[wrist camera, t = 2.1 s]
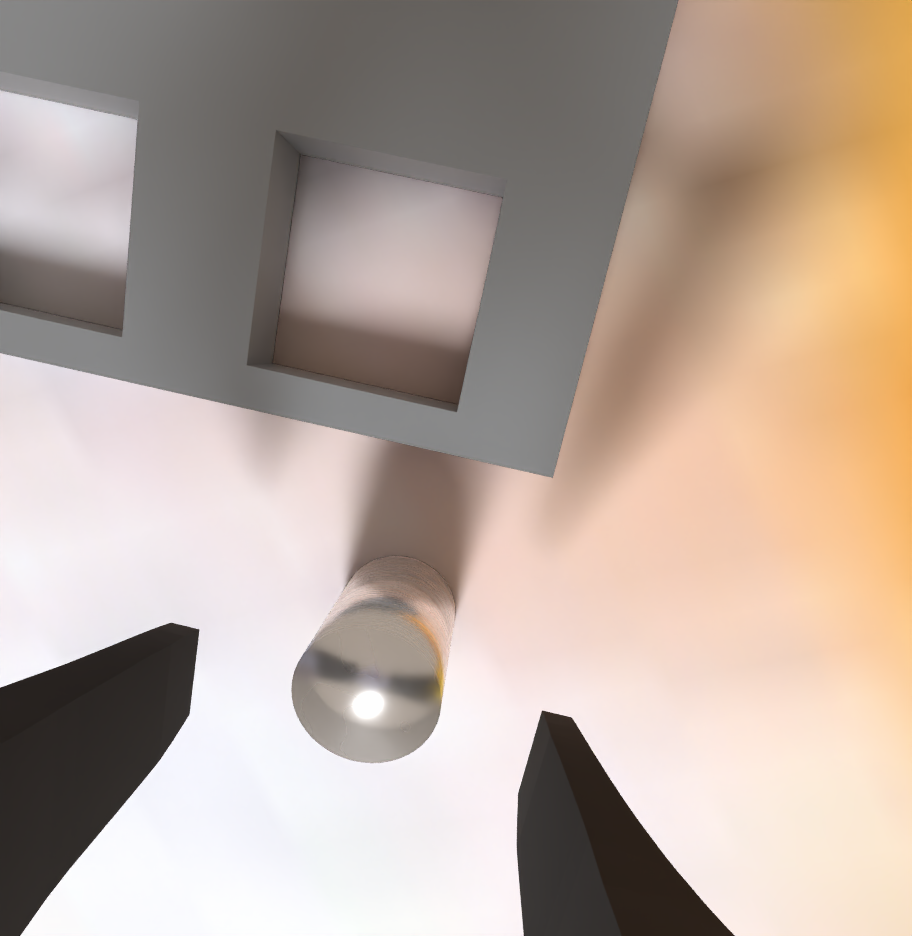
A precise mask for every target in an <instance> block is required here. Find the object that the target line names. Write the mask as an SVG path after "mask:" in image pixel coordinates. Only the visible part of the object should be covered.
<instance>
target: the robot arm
mask: <svg viewBox="0 0 912 936" xmlns="http://www.w3.org/2000/svg"><path fill="white" fill-rule="evenodd" d="M198 637H199V629H195V628H191V627H187V626H182V625H178V624H174V623H169V624H166V625H163V626H160V627H157V628H155V629H152V630H149V631H147V632H144V633H142V634H139V635H137V636H134V637H132V638H129V639H127V640H124V641H122V642H120V643H117V644H115V645H112V646H110V647H107V648H105V649H102V650H100V651H97V652H95V653H92V654H90V655H87V656H85V657H82V658H80V659H77V660H75V661H72V662H70V663H67V664H65V665H62V666H59V667H56V668H54V669H51V670H48V671H45V672H43V673H40V674H37V675H34V676H32V677H29V678H26V679H23V680H20V681H18V682H15V683H12V684H9V685H7V686H4V687H1V688H0V936H20V935H21V934H22V932H23V931H24V930H25V928H26V927H27V925H28V924H29V922H30V921H31V920H32V918H33V917H34V915H35V914H36V913H37V911H38V910H39V908H40V907H41V905H42V904H43V903H44V901H45V900H46V898H47V897H48V896H49V895H50V893H51V892H52V891H53V889H54V888H55V887H56V886H57V884H58V883H59V882H60V880H61V879H62V878H63V877H64V875H65V874H66V873H67V871H68V870H69V869H70V868H71V867H72V865H73V864H74V863H75V862H76V861H77V859H78V858H79V857H80V856H81V855H82V853H83V852H84V851H85V850H86V849H87V847H88V846H89V845H90V844H91V843H92V841H93V840H94V839H95V838H96V837H97V835H98V834H99V833H100V832H101V831H102V829H103V828H104V827H105V826H106V825H107V823H108V822H109V821H110V820H111V819H112V818H113V816H114V815H115V814H116V813H117V812H118V810H119V809H120V808H121V807H122V806H123V804H124V803H125V802H126V801H127V800H128V798H129V797H130V796H131V795H132V794H133V792H134V791H135V790H136V789H137V787H138V786H139V785H140V784H141V783H142V781H143V780H144V779H145V778H146V777H147V775H148V774H149V773H150V772H151V770H152V769H153V768H154V767H155V765H156V764H157V763H158V762H159V760H160V759H161V757H162V756H163V755H164V753H165V752H166V750H167V749H168V747H169V746H170V744H171V743H172V741H173V740H174V738H175V736H176V735H177V733H178V732H179V730H180V729H181V727H182V725H183V724H184V722H185V721H186V719H187V717H188V716H189V713H190V705H191V696H192V688H193V679H194V671H195V662H196V654H197V645H198ZM517 858H518V871H519V883H520V895H521V907H522V919H523V930H524V936H734V935H733V934H732V932H731V931H730V930H729V929H728V928H727V927H726V926H725V925H724V924H723V923H722V922H721V921H720V920H719V919H718V918H717V916H716V915H715V914H714V913H713V912H712V911H711V910H710V909H709V908H708V907H707V905H706V904H705V903H704V902H703V901H702V900H701V899H700V897H699V896H698V895H697V894H696V893H695V891H694V890H693V889H692V888H691V887H690V886H689V884H688V883H687V882H686V881H685V880H684V879H683V877H682V876H681V875H680V874H679V873H678V872H677V870H676V869H675V868H674V867H673V865H672V864H671V863H670V862H669V860H668V859H667V858H666V857H665V855H664V854H663V853H662V852H661V850H660V849H659V848H658V846H657V845H656V844H655V842H654V841H653V840H652V838H651V837H650V836H649V834H648V833H647V832H646V830H645V829H644V828H643V826H642V825H641V824H640V822H639V821H638V819H637V818H636V817H635V815H634V814H633V812H632V811H631V809H630V808H629V807H628V805H627V804H626V802H625V801H624V799H623V798H622V796H621V795H620V793H619V792H618V790H617V789H616V787H615V786H614V784H613V783H612V781H611V780H610V778H609V777H608V775H607V774H606V772H605V770H604V769H603V767H602V766H601V764H600V762H599V761H598V759H597V758H596V756H595V754H594V753H593V751H592V750H591V748H590V746H589V745H588V743H587V741H586V740H585V738H584V737H583V735H582V733H581V732H580V730H579V728H578V727H577V725H576V724H575V722H574V720H573V719H572V718H571V717H567V716H563V715H559V714H554V713H550V712H546V711H542V713H541V716H540V720H539V723H538V727H537V730H536V734H535V737H534V741H533V744H532V747H531V751H530V754H529V758H528V761H527V765H526V768H525V772H524V775H523V779H522V782H521V786H520V789H519V793H518V814H517Z"/></svg>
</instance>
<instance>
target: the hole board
mask: <svg viewBox="0 0 912 936" xmlns="http://www.w3.org/2000/svg"><path fill="white" fill-rule="evenodd" d="M677 4H678V0H0V90H2V91H7V92H12V93H17V94H21V95H26V96H31V97H35V98H40V99H45V100H49V101H54V102H59V103H63V104H68V105H73V106H77V107H82V108H87V109H91V110H96V111H101V112H105V113H110V114H115V115H119V116H124V117H129V118H133V119H138V124H137V138H136V152H135V166H134V180H133V194H132V208H131V222H130V235H129V249H128V263H127V277H126V291H125V305H124V319H123V330H121V329H116V328H112V327H107V326H103V325H99V324H94V323H90V322H85V321H81V320H76V319H72V318H67V317H63V316H58V315H54V314H49V313H45V312H40V311H36V310H31V309H27V308H22V307H18V306H13V305H9V304H5V303H0V353H3V354H7V355H11V356H16V357H20V358H25V359H29V360H34V361H38V362H42V363H47V364H51V365H56V366H60V367H65V368H69V369H73V370H78V371H82V372H87V373H91V374H96V375H100V376H104V377H109V378H113V379H118V380H122V381H127V382H131V383H135V384H140V385H144V386H149V387H153V388H158V389H162V390H167V391H171V392H175V393H180V394H184V395H189V396H193V397H198V398H202V399H206V400H211V401H215V402H220V403H224V404H229V405H233V406H237V407H242V408H246V409H251V410H255V411H260V412H264V413H268V414H273V415H277V416H282V417H286V418H291V419H295V420H299V421H304V422H308V423H313V424H317V425H322V426H326V427H330V428H335V429H339V430H344V431H348V432H353V433H357V434H361V435H366V436H370V437H375V438H379V439H384V440H388V441H392V442H397V443H401V444H406V445H410V446H415V447H419V448H424V449H428V450H432V451H437V452H441V453H446V454H450V455H455V456H459V457H463V458H468V459H472V460H477V461H481V462H486V463H490V464H494V465H499V466H503V467H508V468H512V469H517V470H521V471H525V472H530V473H534V474H539V475H543V476H548V477H552V478H553V475H554V471H555V467H556V463H557V459H558V456H559V452H560V448H561V444H562V440H563V437H564V433H565V429H566V425H567V421H568V418H569V414H570V410H571V406H572V402H573V399H574V395H575V391H576V387H577V383H578V380H579V376H580V372H581V368H582V364H583V361H584V357H585V353H586V349H587V345H588V342H589V338H590V334H591V330H592V326H593V323H594V319H595V315H596V311H597V307H598V304H599V300H600V296H601V292H602V289H603V285H604V281H605V277H606V273H607V270H608V266H609V262H610V258H611V254H612V251H613V247H614V243H615V239H616V235H617V232H618V228H619V224H620V220H621V216H622V213H623V209H624V205H625V201H626V197H627V194H628V190H629V186H630V182H631V178H632V175H633V171H634V167H635V163H636V159H637V156H638V152H639V148H640V144H641V140H642V137H643V133H644V129H645V125H646V121H647V118H648V114H649V110H650V106H651V102H652V99H653V95H654V91H655V87H656V83H657V80H658V76H659V72H660V68H661V64H662V61H663V57H664V53H665V49H666V45H667V42H668V38H669V34H670V30H671V27H672V23H673V19H674V15H675V11H676V8H677ZM300 154H302V155H307V156H311V157H316V158H321V159H325V160H330V161H335V162H339V163H344V164H349V165H353V166H358V167H363V168H367V169H372V170H377V171H381V172H386V173H391V174H395V175H400V176H405V177H409V178H414V179H419V180H424V181H428V182H433V183H438V184H442V185H447V186H452V187H456V188H461V189H466V190H470V191H475V192H480V193H484V194H489V195H494V196H498V197H503V201H502V206H501V210H500V215H499V219H498V224H497V229H496V233H495V238H494V243H493V247H492V252H491V257H490V261H489V266H488V270H487V275H486V280H485V284H484V289H483V294H482V298H481V303H480V308H479V312H478V317H477V321H476V326H475V331H474V335H473V340H472V345H471V349H470V354H469V359H468V363H467V368H466V372H465V377H464V382H463V386H462V391H461V396H460V400H459V405H457V404H452V403H448V402H443V401H439V400H434V399H430V398H425V397H421V396H416V395H412V394H407V393H403V392H398V391H394V390H389V389H385V388H381V387H376V386H372V385H367V384H363V383H358V382H354V381H349V380H345V379H340V378H336V377H331V376H327V375H322V374H318V373H313V372H309V371H304V370H300V369H295V368H291V367H287V366H282V365H278V364H273V363H272V362H273V354H274V347H275V340H276V332H277V325H278V317H279V310H280V302H281V295H282V288H283V280H284V273H285V265H286V258H287V251H288V243H289V236H290V228H291V221H292V213H293V206H294V199H295V191H296V184H297V176H298V169H299V162H300Z"/></svg>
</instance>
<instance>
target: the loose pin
mask: <svg viewBox="0 0 912 936" xmlns="http://www.w3.org/2000/svg"><path fill="white" fill-rule="evenodd" d="M454 620H455V602H454V598H453V595H452V592H451V590H450V588H449V586H448V584H447V583H446V581H445V580H444V579H443V577H442V576H441V575H440V574H439V573H438V572H437V571H436V570H434V569H433V568H432V567H430V566H429V565H427V564H425V563H424V562H421V561H419V560H417V559H413V558H410V557H404V556H387V557H383V558H379V559H376V560H373V561H371V562H369V563H367V564H366V565H364V566H363V567H361V568H360V569H359V570H358V571H357V572H356V573H355V574H354V575H353V577H352V578H351V580H350V581H349V583H348V584H347V586H346V587H345V589H344V591H343V592H342V594H341V595H340V597H339V599H338V600H337V602H336V603H335V605H334V606H333V608H332V610H331V611H330V613H329V614H328V616H327V618H326V619H325V621H324V622H323V624H322V626H321V627H320V629H319V630H318V632H317V633H316V635H315V637H314V638H313V640H312V641H311V643H310V645H309V646H308V648H307V649H306V651H305V652H304V654H303V656H302V657H301V659H300V661H299V662H298V664H297V667H296V669H295V671H294V675H293V679H292V700H293V705H294V708H295V711H296V714H297V716H298V718H299V720H300V722H301V724H302V725H303V727H304V728H305V730H306V731H307V732H308V733H309V735H310V736H311V737H312V738H313V739H314V740H315V741H316V742H317V743H319V744H320V745H321V746H323V747H324V748H325V749H327V750H329V751H330V752H332V753H334V754H336V755H338V756H341V757H343V758H346V759H349V760H353V761H358V762H365V763H382V762H388V761H392V760H396V759H399V758H402V757H404V756H406V755H408V754H410V753H412V752H413V751H415V750H416V749H417V748H419V747H420V746H421V745H422V744H423V743H424V742H425V741H426V740H427V739H428V738H429V736H430V735H431V733H432V732H433V730H434V728H435V726H436V724H437V722H438V718H439V715H440V709H441V703H442V697H443V690H444V684H445V677H446V671H447V665H448V658H449V652H450V646H451V639H452V633H453V627H454Z"/></svg>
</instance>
